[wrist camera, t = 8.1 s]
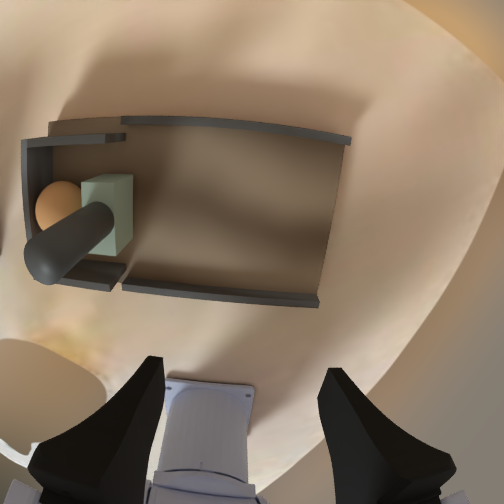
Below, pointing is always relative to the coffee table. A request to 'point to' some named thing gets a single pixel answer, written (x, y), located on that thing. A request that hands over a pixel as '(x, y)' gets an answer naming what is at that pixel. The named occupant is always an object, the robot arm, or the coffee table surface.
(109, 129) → the tray
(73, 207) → the ball
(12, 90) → the coffee table surface
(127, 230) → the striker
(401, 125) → the coffee table surface
